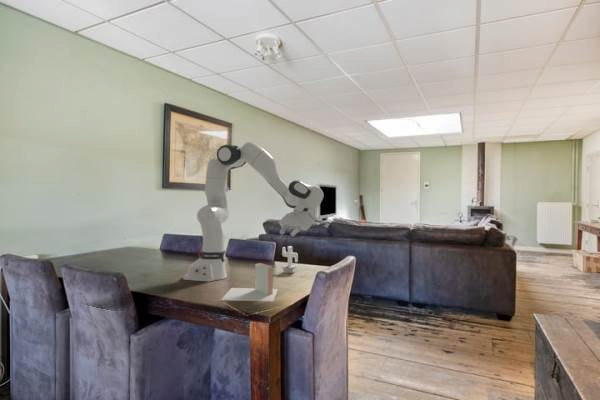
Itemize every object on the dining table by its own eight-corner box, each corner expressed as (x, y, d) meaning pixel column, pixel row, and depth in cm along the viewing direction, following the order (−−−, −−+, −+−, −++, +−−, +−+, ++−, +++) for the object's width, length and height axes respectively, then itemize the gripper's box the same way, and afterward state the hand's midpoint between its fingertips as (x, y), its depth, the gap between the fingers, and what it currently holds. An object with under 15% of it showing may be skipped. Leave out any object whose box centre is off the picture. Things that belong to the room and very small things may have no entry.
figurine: (295, 274, 185) (295, 247, 185) (279, 272, 189) (280, 246, 188) (299, 271, 192) (299, 246, 192) (284, 270, 195) (285, 245, 195)
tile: (260, 288, 155) (260, 263, 154) (272, 293, 147) (272, 267, 147) (255, 289, 153) (255, 263, 153) (266, 295, 145) (267, 267, 145)
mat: (220, 301, 137) (220, 300, 137) (231, 289, 155) (231, 287, 155) (273, 302, 137) (273, 301, 137) (277, 290, 155) (278, 288, 155)
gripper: (286, 208, 170) (270, 228, 164) (312, 209, 154) (295, 231, 148) (293, 216, 173) (277, 236, 167) (319, 218, 157) (303, 240, 151)
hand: (286, 234), depth 157 cm, fingers open, 7 cm apart
